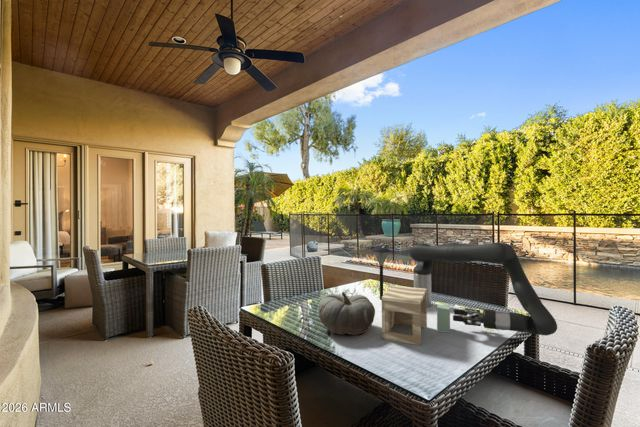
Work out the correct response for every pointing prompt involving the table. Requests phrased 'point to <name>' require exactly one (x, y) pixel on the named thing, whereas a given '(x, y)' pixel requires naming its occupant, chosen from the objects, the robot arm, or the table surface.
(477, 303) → the table surface
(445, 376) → the table surface
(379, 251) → the solar garden light
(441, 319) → the block
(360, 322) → the gourd
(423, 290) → the box
